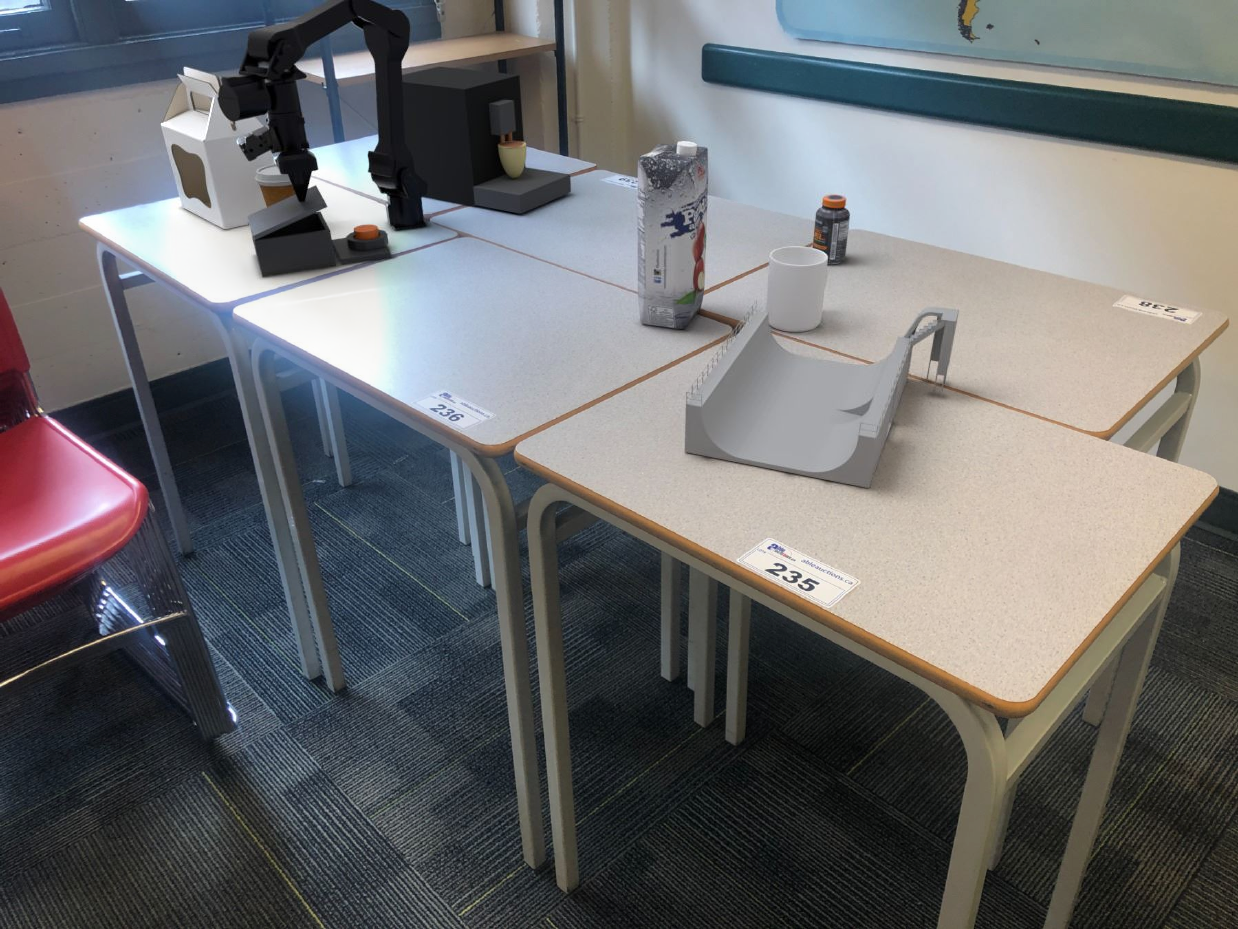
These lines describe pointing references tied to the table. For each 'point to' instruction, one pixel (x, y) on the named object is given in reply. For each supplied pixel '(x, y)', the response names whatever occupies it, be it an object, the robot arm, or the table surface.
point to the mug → (796, 288)
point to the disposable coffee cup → (274, 184)
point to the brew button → (366, 232)
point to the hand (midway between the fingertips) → (301, 201)
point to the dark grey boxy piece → (296, 247)
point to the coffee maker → (473, 140)
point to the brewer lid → (285, 213)
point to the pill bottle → (832, 228)
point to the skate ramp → (805, 402)
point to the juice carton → (672, 233)
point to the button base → (361, 248)
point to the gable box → (211, 154)
